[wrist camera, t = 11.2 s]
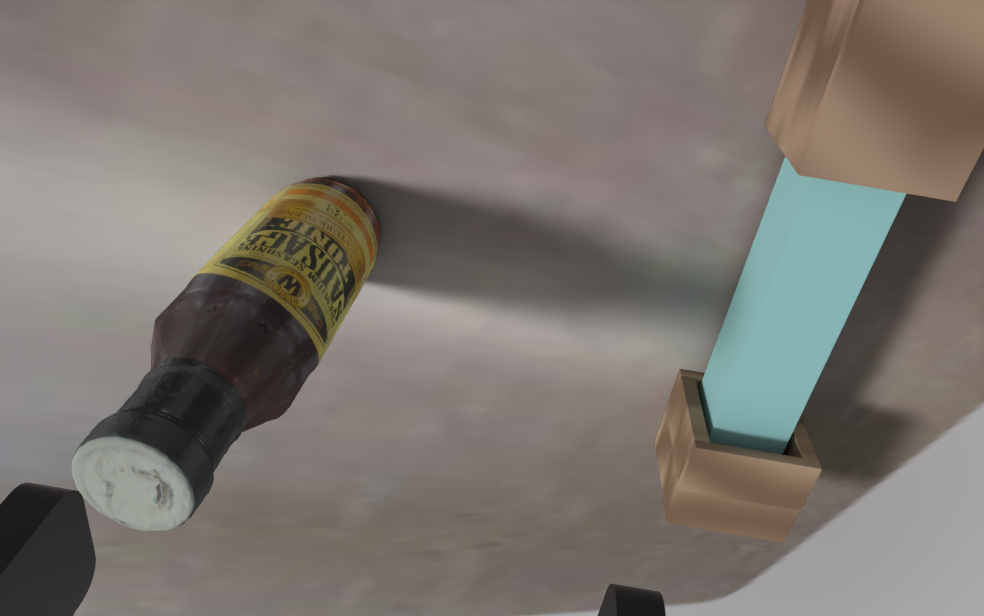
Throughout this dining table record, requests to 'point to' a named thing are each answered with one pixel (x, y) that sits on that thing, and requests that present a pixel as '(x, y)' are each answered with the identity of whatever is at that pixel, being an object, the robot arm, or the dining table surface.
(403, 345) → the dining table surface
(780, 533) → the socket
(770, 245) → the long turquoise beam
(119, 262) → the dining table surface
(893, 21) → the wooden block
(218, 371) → the sauce bottle
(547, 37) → the dining table surface
